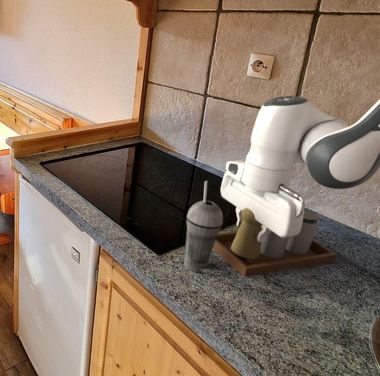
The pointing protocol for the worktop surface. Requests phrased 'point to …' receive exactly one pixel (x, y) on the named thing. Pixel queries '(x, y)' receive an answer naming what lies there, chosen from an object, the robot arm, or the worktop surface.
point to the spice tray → (267, 264)
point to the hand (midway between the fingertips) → (250, 233)
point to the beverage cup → (201, 232)
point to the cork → (247, 237)
